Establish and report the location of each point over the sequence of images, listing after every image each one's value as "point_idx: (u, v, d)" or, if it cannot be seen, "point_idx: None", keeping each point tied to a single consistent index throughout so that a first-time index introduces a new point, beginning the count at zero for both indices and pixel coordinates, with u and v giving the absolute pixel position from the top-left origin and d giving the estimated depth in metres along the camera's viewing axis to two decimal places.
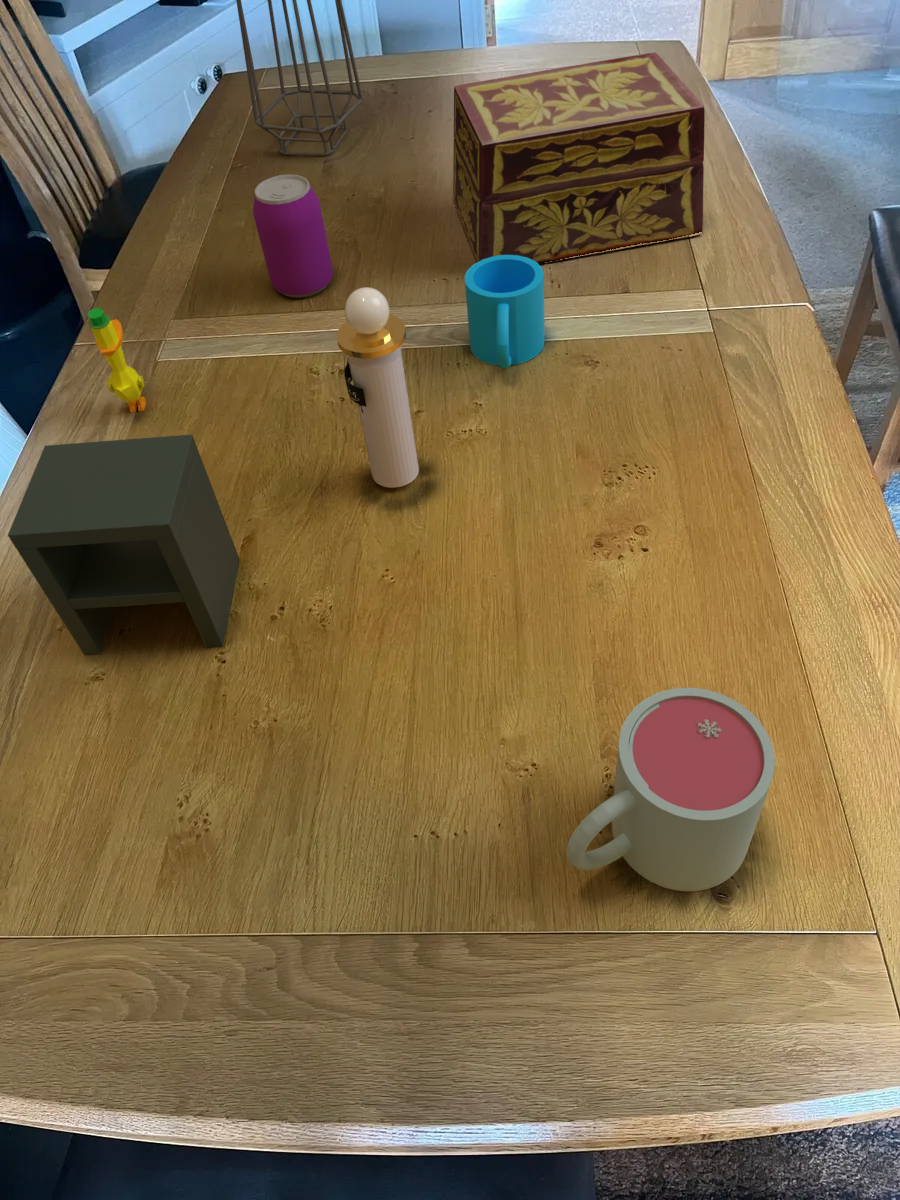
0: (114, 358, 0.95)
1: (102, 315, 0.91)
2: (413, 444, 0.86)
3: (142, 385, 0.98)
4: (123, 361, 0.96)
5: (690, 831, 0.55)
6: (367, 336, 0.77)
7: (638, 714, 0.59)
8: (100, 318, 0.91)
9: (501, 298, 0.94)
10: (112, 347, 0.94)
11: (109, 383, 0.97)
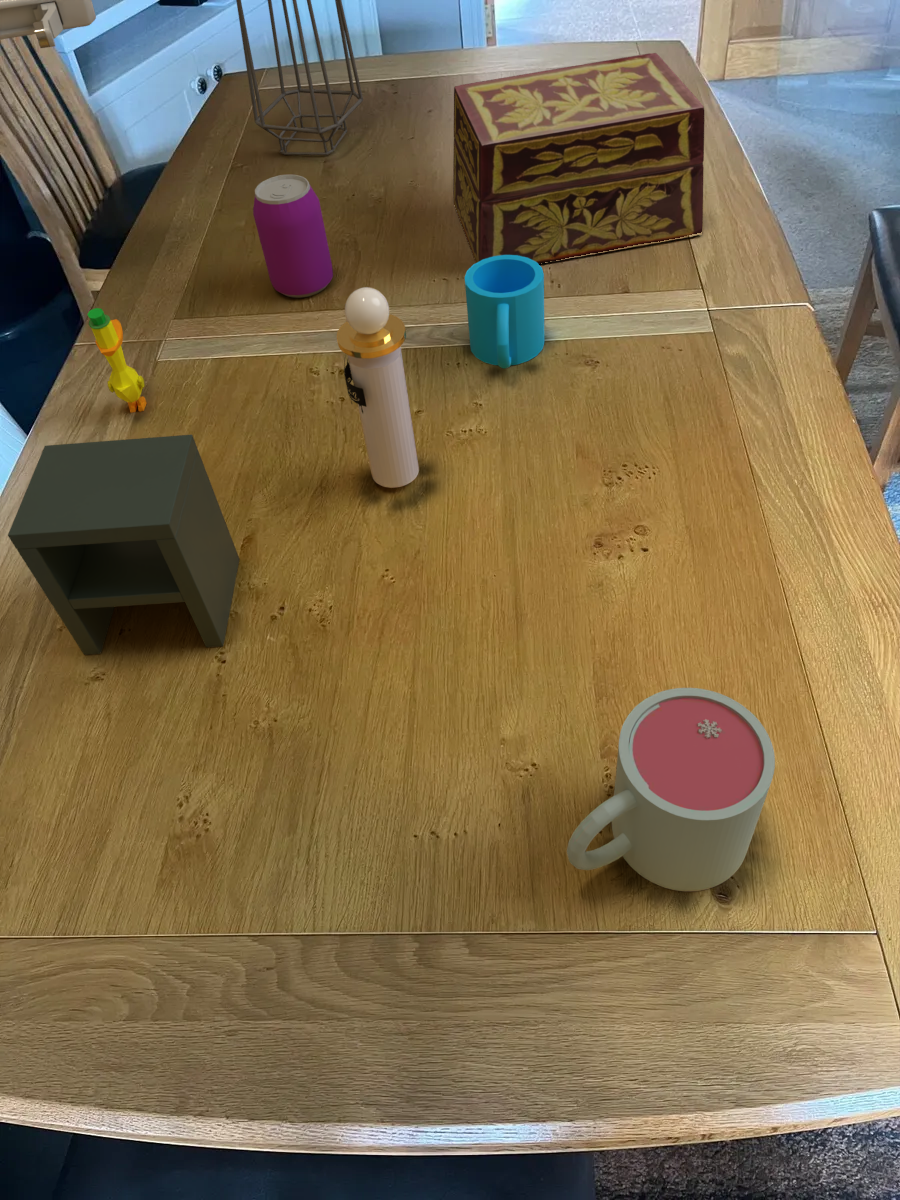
0: (114, 358, 0.95)
1: (102, 315, 0.91)
2: (413, 444, 0.86)
3: (142, 385, 0.98)
4: (123, 361, 0.96)
5: (690, 831, 0.55)
6: (367, 336, 0.77)
7: (638, 714, 0.59)
8: (100, 318, 0.91)
9: (501, 298, 0.94)
10: (112, 347, 0.94)
11: (109, 383, 0.97)
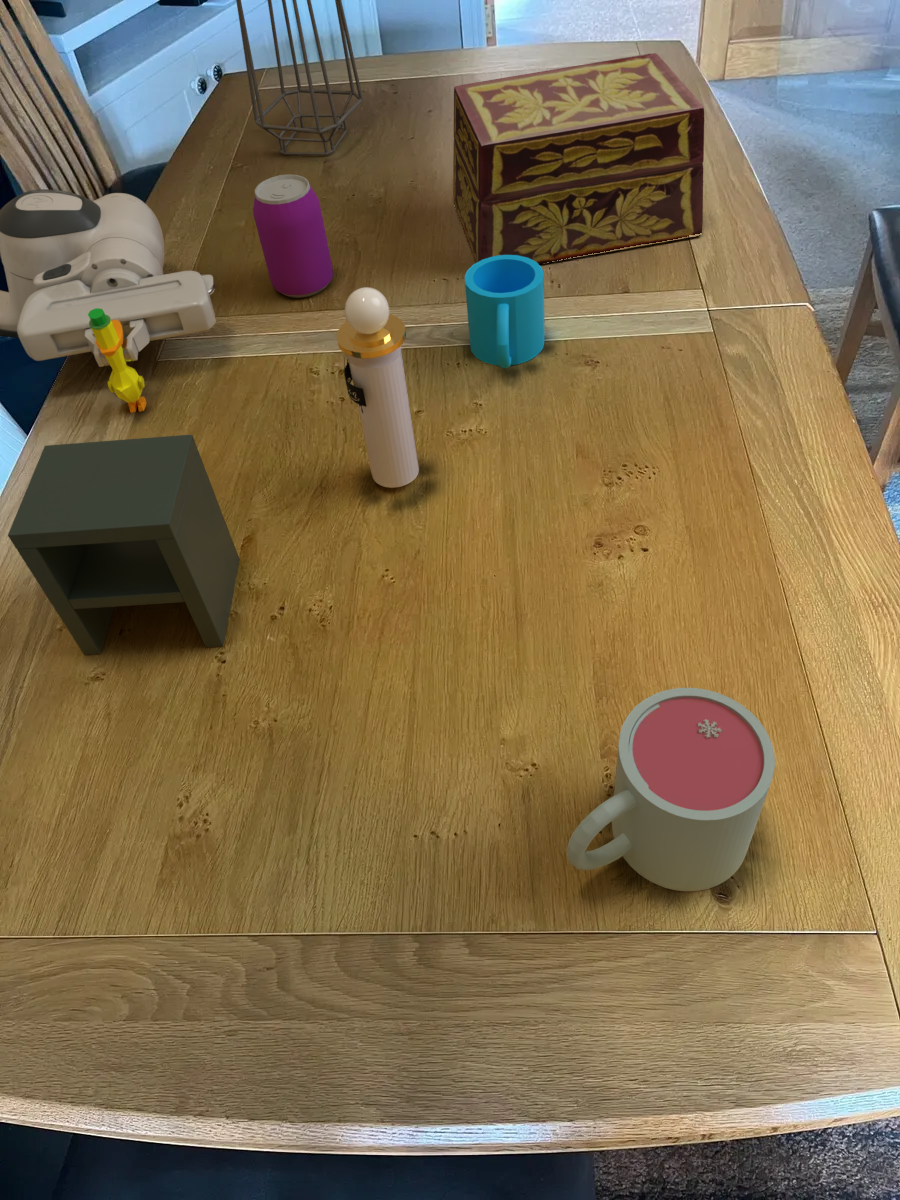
0: (114, 358, 0.95)
1: (102, 315, 0.91)
2: (413, 444, 0.86)
3: (142, 385, 0.98)
4: (123, 361, 0.96)
5: (690, 831, 0.55)
6: (367, 336, 0.77)
7: (638, 714, 0.59)
8: (100, 318, 0.91)
9: (501, 298, 0.94)
10: (112, 347, 0.94)
11: (109, 383, 0.97)
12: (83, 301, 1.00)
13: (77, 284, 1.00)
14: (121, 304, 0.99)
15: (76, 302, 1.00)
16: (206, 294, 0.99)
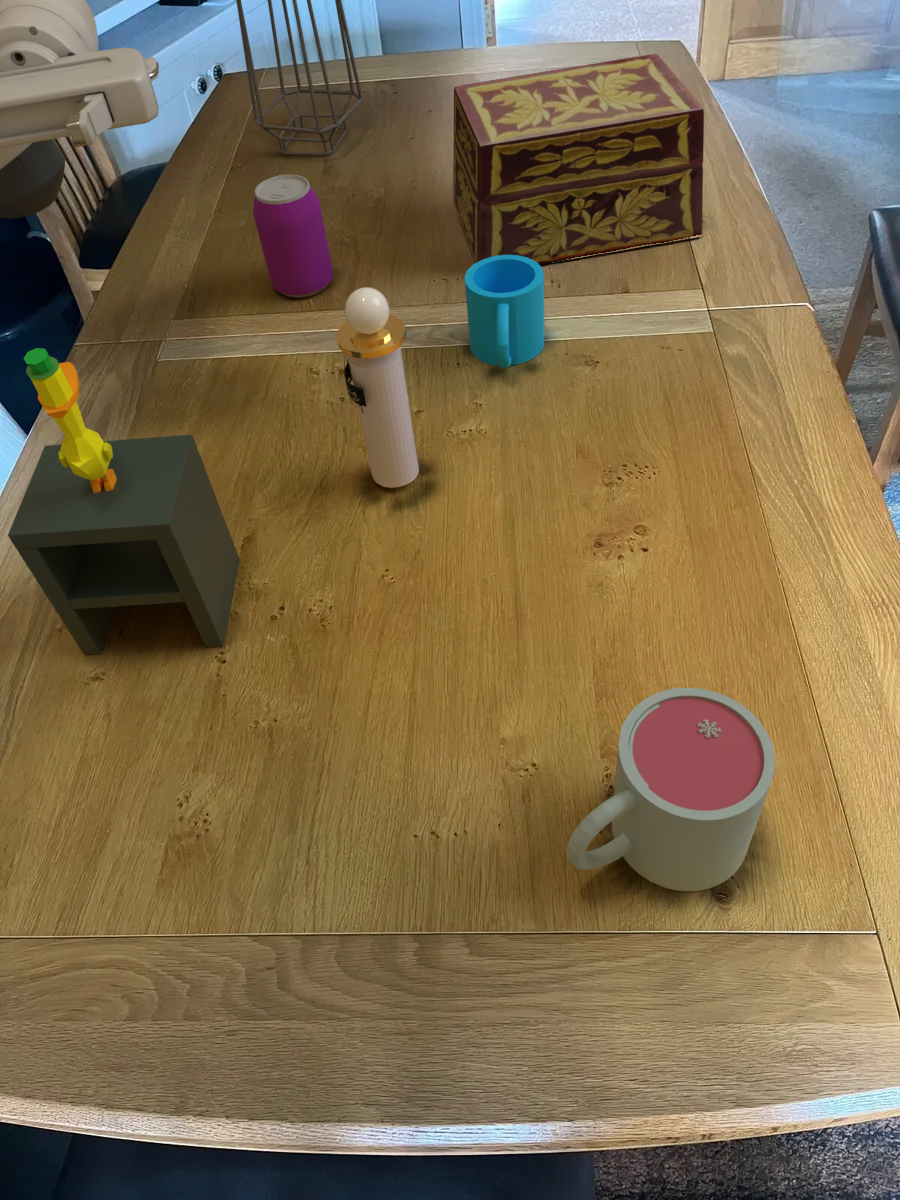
0: (66, 420, 0.64)
1: (46, 359, 0.61)
2: (413, 444, 0.86)
3: (109, 456, 0.67)
4: (80, 423, 0.65)
5: (690, 831, 0.55)
6: (367, 336, 0.77)
7: (638, 714, 0.59)
8: (43, 363, 0.61)
9: (501, 298, 0.94)
10: (63, 405, 0.63)
11: (61, 455, 0.67)
12: None
13: None
14: (28, 82, 0.73)
15: None
16: (144, 69, 0.73)
